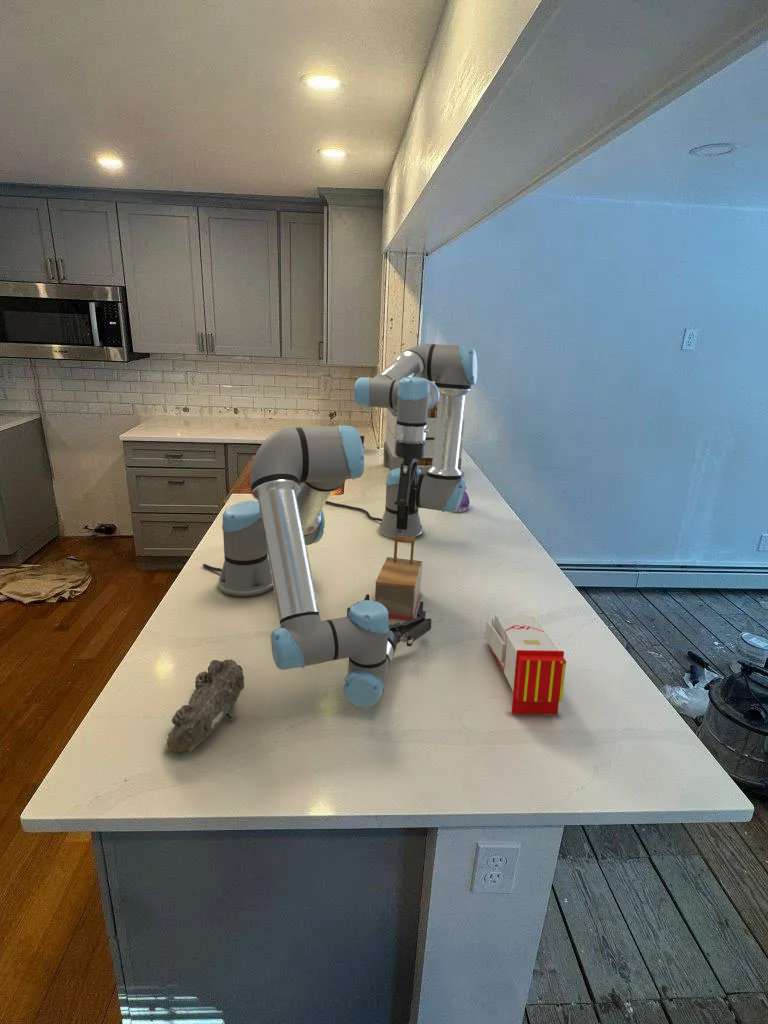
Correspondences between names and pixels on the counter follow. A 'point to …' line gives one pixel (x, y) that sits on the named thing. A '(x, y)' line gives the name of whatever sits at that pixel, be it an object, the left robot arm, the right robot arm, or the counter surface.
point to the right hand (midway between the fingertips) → (405, 519)
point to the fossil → (206, 705)
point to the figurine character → (362, 440)
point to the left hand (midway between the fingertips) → (394, 602)
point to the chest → (399, 599)
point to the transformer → (390, 439)
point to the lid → (400, 568)
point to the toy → (527, 663)
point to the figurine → (463, 499)
